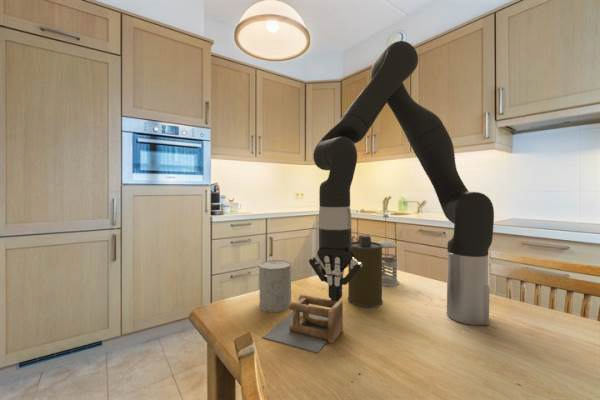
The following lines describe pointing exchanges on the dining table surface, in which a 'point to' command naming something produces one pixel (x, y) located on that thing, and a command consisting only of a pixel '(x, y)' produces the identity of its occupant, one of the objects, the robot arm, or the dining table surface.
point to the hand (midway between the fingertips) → (335, 300)
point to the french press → (389, 262)
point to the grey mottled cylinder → (275, 285)
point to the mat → (296, 335)
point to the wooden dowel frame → (332, 314)
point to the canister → (366, 273)
